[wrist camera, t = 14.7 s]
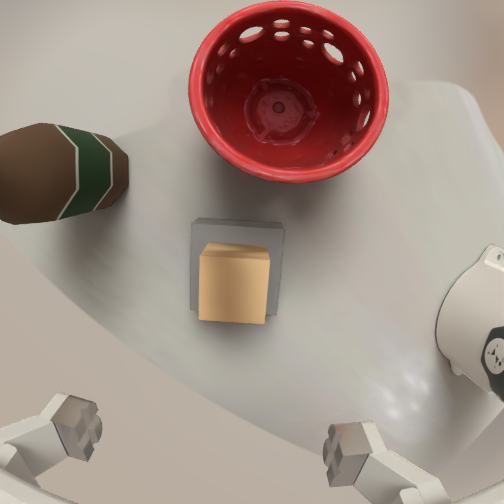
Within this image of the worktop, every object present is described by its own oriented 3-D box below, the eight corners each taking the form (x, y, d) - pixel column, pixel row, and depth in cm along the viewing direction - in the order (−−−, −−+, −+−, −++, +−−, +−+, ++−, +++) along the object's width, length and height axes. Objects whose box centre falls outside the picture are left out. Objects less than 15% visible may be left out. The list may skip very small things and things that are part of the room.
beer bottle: (143, 148, 29) (-56, 110, 6) (119, 219, 31) (-72, 301, 7) (83, 129, 28) (-107, 97, 5) (63, 196, 30) (-124, 239, 7)
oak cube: (266, 245, 27) (270, 260, 22) (262, 299, 28) (264, 324, 24) (208, 242, 27) (199, 255, 22) (206, 296, 28) (198, 319, 23)
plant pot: (204, 64, 27) (181, 7, 16) (333, 56, 27) (372, 2, 15) (216, 188, 30) (195, 194, 18) (348, 177, 30) (403, 178, 18)
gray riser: (280, 223, 31) (284, 229, 27) (273, 299, 33) (276, 315, 29) (198, 217, 31) (191, 223, 27) (196, 294, 33) (189, 309, 29)
